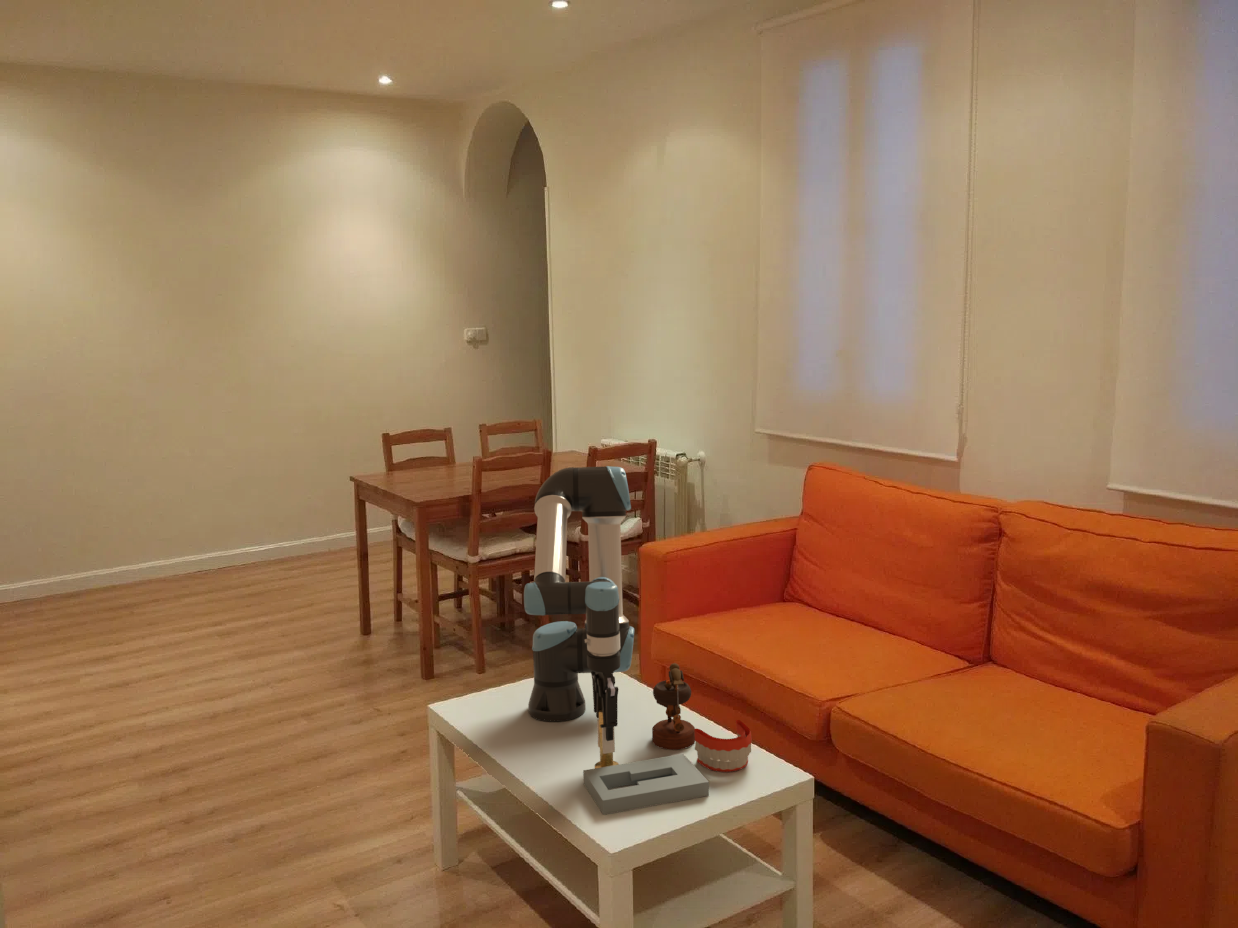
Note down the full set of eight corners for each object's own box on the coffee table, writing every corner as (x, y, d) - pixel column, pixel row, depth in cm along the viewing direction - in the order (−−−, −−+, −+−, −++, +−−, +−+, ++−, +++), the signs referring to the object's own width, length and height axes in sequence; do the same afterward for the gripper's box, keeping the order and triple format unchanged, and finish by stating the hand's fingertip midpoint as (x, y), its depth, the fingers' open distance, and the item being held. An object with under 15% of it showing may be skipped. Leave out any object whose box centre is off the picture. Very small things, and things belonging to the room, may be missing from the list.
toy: (714, 779, 227) (714, 746, 226) (693, 761, 237) (692, 729, 236) (762, 768, 232) (762, 735, 231) (739, 751, 242) (739, 719, 241)
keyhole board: (583, 783, 227) (583, 770, 226) (683, 766, 234) (683, 753, 234) (603, 814, 213) (602, 800, 212) (708, 795, 220) (708, 781, 219)
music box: (708, 746, 244) (700, 668, 241) (667, 759, 240) (659, 680, 237) (679, 723, 258) (672, 649, 255) (640, 735, 254) (632, 660, 250)
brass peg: (591, 766, 235) (590, 709, 233) (614, 762, 237) (613, 705, 235) (598, 776, 230) (597, 718, 228) (622, 772, 232) (620, 714, 230)
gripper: (578, 642, 236) (581, 737, 239) (597, 664, 221) (600, 766, 224) (608, 638, 238) (611, 732, 242) (630, 660, 223) (632, 760, 226)
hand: (606, 748), depth 233 cm, fingers closed on brass peg, 3 cm apart
